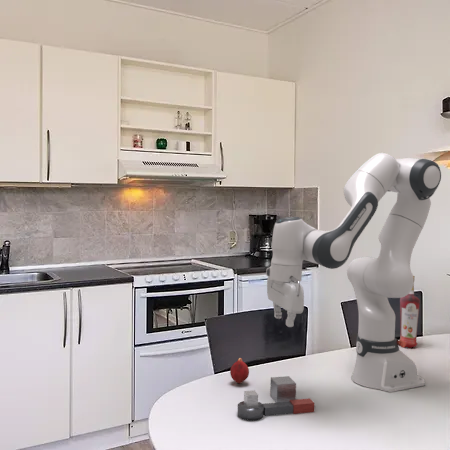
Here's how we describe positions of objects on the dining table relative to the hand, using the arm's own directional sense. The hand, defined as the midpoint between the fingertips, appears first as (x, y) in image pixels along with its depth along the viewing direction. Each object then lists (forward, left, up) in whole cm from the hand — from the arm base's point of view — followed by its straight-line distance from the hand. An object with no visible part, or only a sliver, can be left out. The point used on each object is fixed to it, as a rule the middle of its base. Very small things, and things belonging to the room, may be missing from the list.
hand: (283, 322), depth 142 cm
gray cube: (0, +1, -22) cm, 22 cm away
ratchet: (+5, +9, -22) cm, 24 cm away
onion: (+9, -13, -23) cm, 28 cm away
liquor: (-67, -38, -23) cm, 80 cm away
